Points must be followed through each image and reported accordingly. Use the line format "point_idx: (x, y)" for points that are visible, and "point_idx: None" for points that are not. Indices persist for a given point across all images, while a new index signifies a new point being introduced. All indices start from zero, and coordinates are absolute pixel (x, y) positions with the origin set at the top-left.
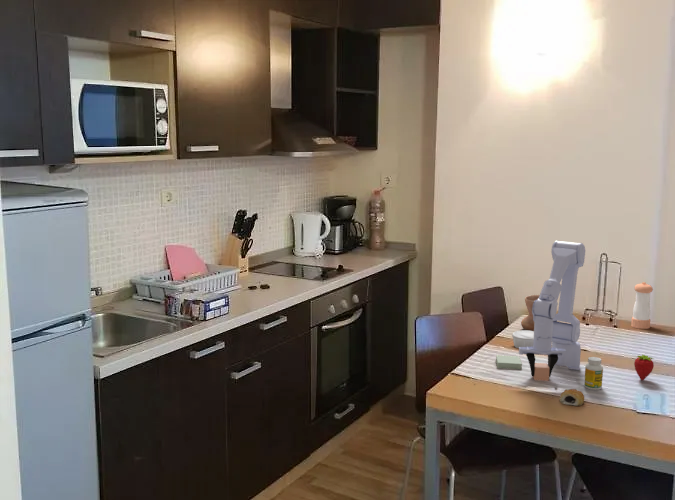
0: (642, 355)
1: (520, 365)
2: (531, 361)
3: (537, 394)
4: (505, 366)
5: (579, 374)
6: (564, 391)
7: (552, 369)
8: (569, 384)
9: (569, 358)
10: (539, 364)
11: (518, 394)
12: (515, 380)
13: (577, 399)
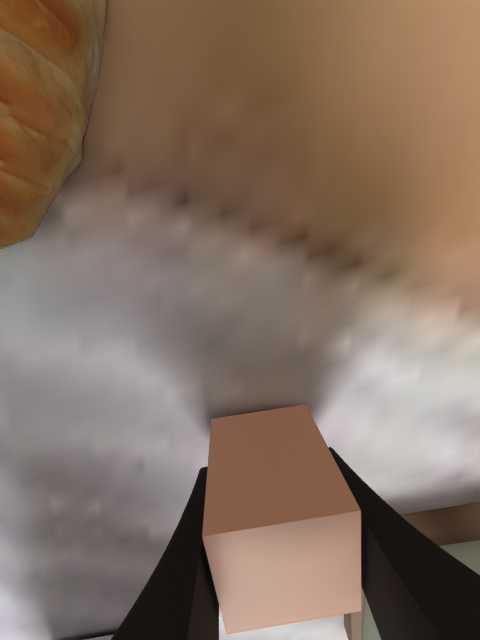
0: None
1: None
2: (471, 595)
3: (298, 185)
4: (471, 558)
5: (45, 595)
6: (22, 49)
7: (173, 534)
8: (80, 446)
9: None
10: (303, 592)
11: (447, 141)
12: (411, 417)
13: None
